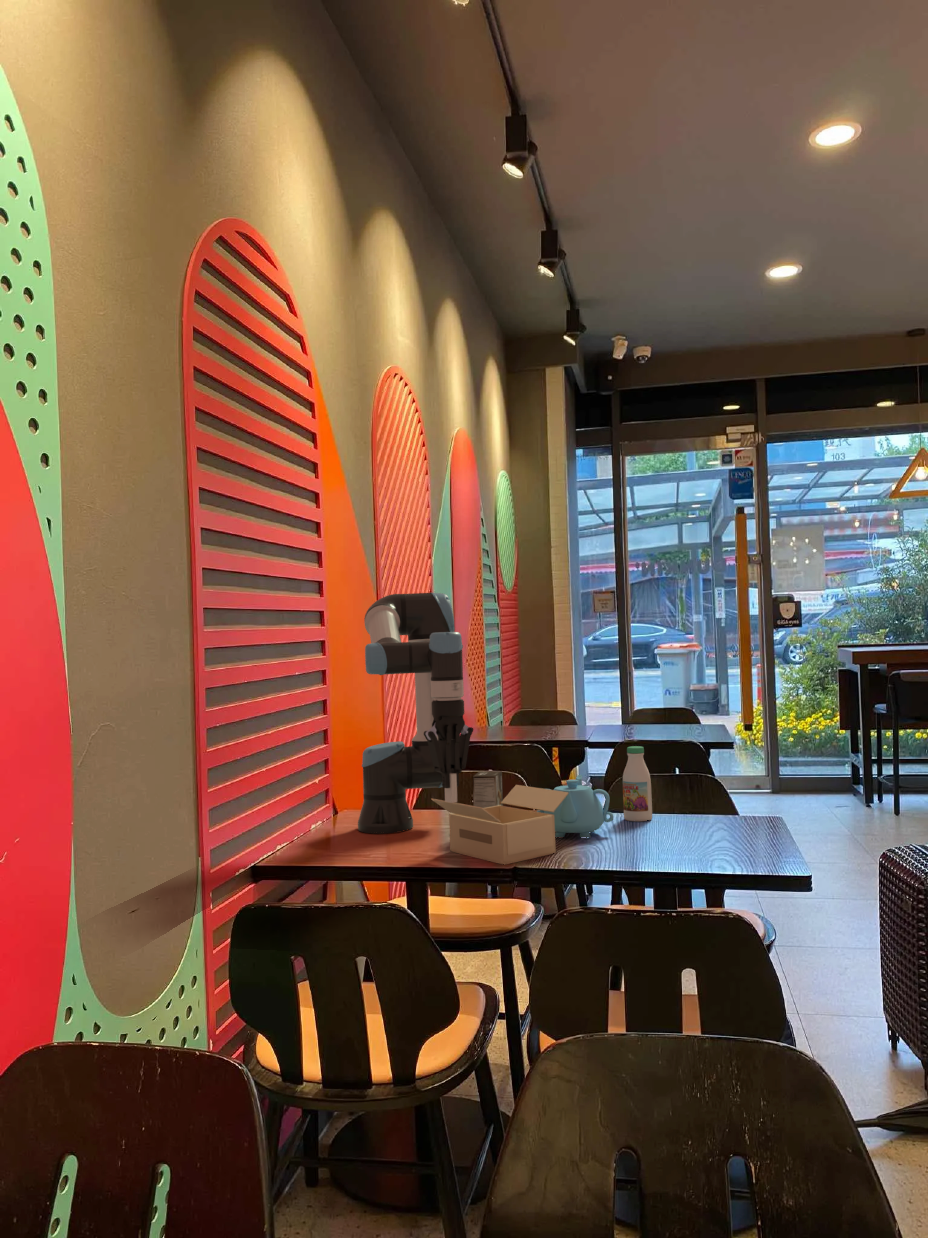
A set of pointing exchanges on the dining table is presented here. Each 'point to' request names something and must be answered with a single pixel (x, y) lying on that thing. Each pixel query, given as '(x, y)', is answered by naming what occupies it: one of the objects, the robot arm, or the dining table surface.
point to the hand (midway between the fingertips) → (451, 801)
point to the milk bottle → (636, 787)
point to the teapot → (580, 809)
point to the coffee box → (487, 789)
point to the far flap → (535, 798)
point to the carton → (503, 835)
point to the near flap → (466, 810)
